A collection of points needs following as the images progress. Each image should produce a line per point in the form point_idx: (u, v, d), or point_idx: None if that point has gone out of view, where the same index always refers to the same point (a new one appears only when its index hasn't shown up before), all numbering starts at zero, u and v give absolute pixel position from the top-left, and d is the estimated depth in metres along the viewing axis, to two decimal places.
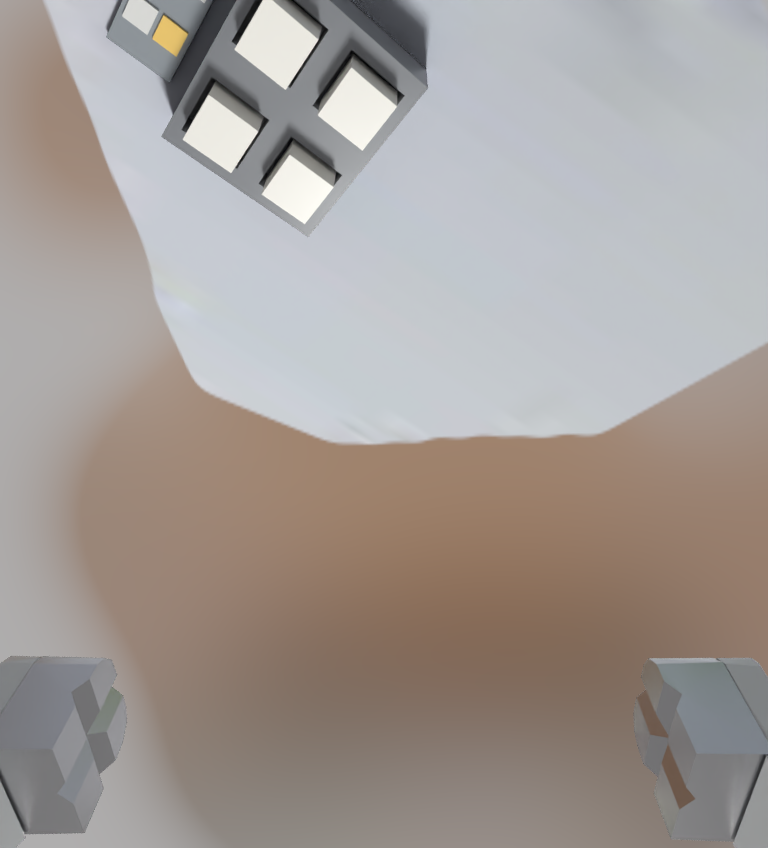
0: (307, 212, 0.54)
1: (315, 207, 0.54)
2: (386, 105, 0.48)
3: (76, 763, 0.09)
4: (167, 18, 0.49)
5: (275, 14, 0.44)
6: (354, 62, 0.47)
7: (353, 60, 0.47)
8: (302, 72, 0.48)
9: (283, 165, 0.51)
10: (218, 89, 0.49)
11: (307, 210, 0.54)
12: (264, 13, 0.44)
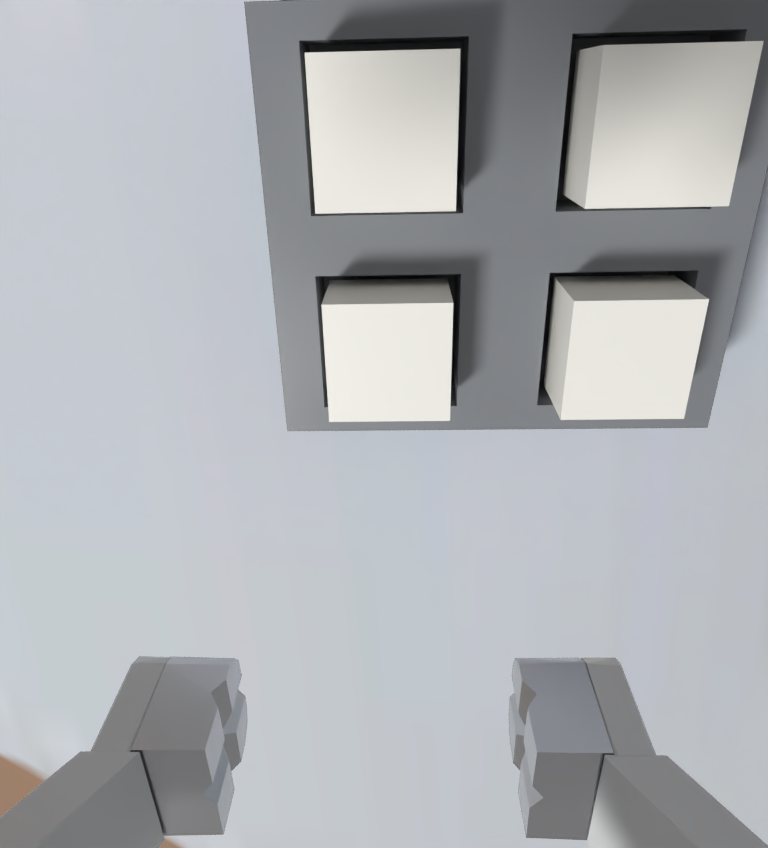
0: (358, 410, 0.23)
1: (381, 417, 0.23)
2: (673, 400, 0.22)
3: None
4: None
5: (732, 87, 0.18)
6: None
7: None
8: (601, 214, 0.21)
9: (420, 305, 0.21)
10: None
11: (363, 408, 0.23)
12: (722, 61, 0.18)
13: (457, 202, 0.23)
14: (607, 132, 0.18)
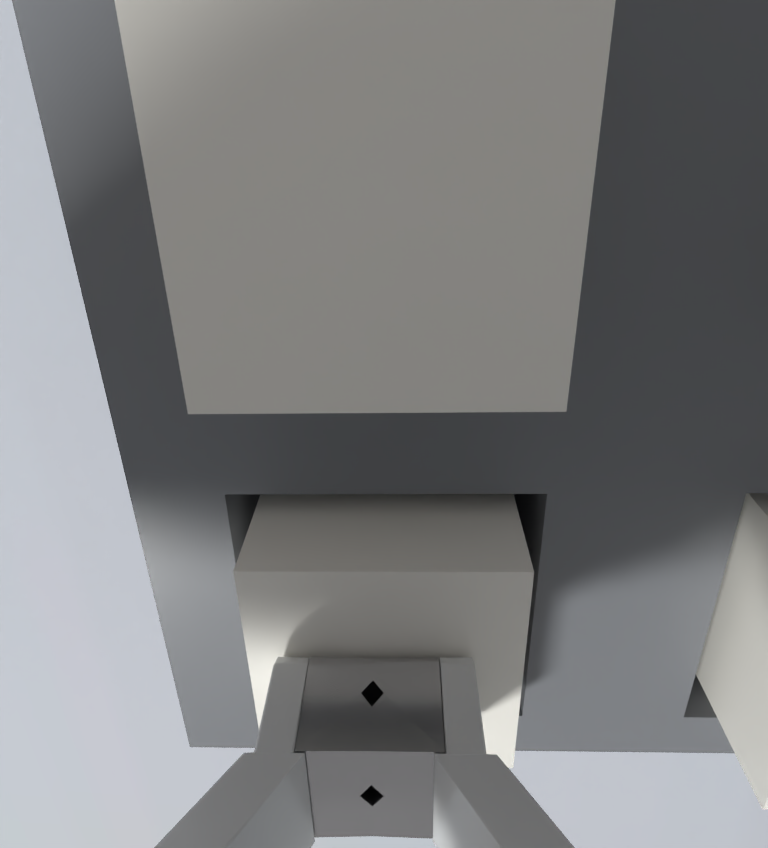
0: None
1: None
2: None
3: None
4: None
5: None
6: None
7: None
8: None
9: (458, 576, 0.09)
10: None
11: None
12: None
13: None
14: None
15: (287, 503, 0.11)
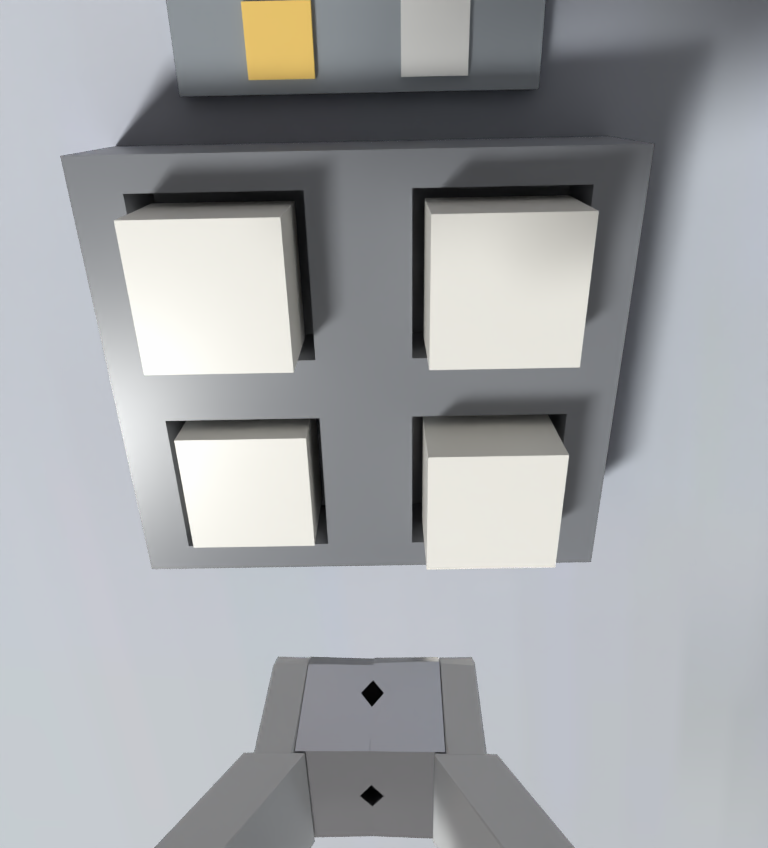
0: (222, 537, 0.23)
1: (245, 543, 0.23)
2: (543, 550, 0.21)
3: None
4: (311, 12, 0.19)
5: (571, 255, 0.17)
6: None
7: None
8: None
9: (273, 441, 0.21)
10: (290, 222, 0.18)
11: (226, 534, 0.22)
12: (558, 230, 0.17)
13: None
14: (444, 297, 0.17)
15: None
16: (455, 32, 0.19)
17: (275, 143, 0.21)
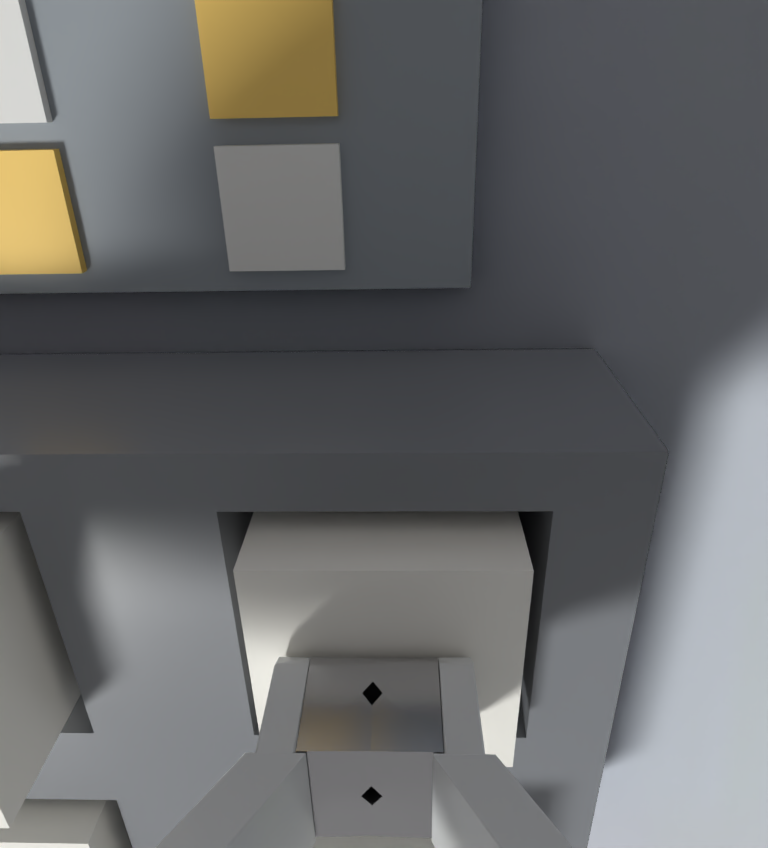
0: None
1: None
2: None
3: None
4: (59, 169, 0.11)
5: (488, 629, 0.10)
6: None
7: None
8: None
9: (37, 844, 0.13)
10: (2, 564, 0.10)
11: None
12: (462, 596, 0.09)
13: None
14: None
15: None
16: (316, 202, 0.11)
17: (44, 358, 0.13)
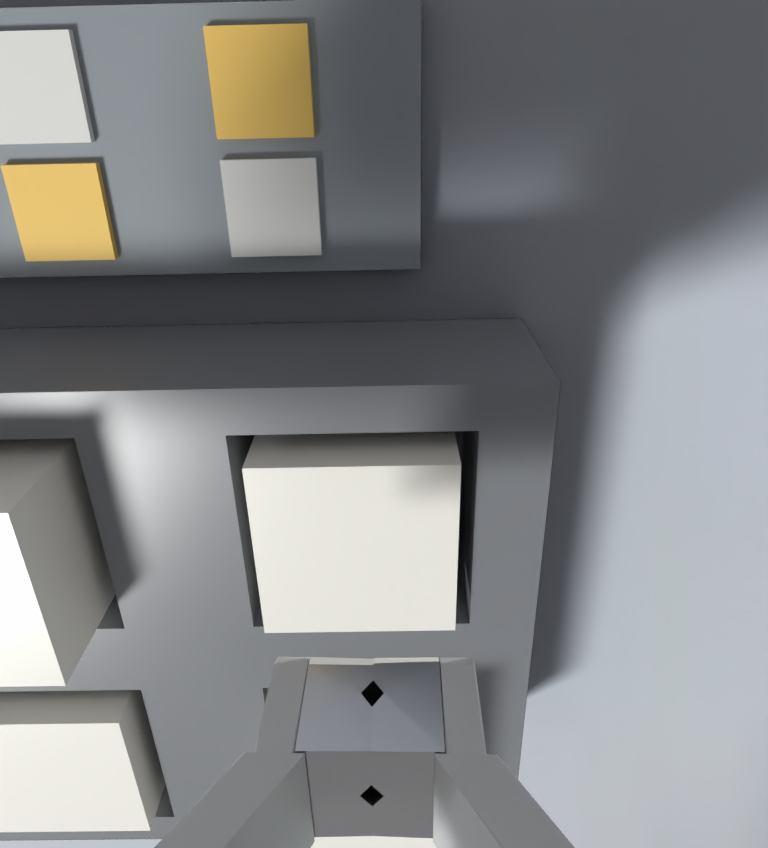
0: (29, 822, 0.17)
1: (61, 828, 0.18)
2: None
3: None
4: (99, 178, 0.14)
5: (430, 512, 0.13)
6: None
7: None
8: None
9: (76, 725, 0.16)
10: (59, 480, 0.13)
11: (34, 820, 0.17)
12: (410, 486, 0.13)
13: None
14: (273, 557, 0.13)
15: None
16: (299, 203, 0.14)
17: (80, 330, 0.16)
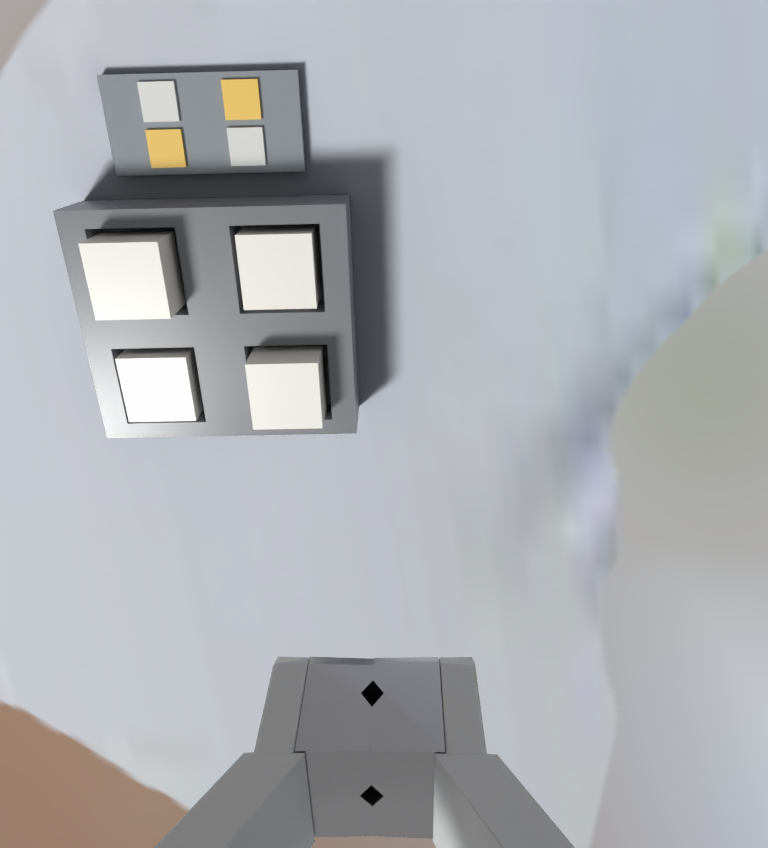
0: (144, 415, 0.41)
1: (157, 419, 0.41)
2: (314, 418, 0.39)
3: None
4: (181, 135, 0.37)
5: (302, 253, 0.36)
6: (320, 357, 0.39)
7: (320, 354, 0.39)
8: (265, 314, 0.38)
9: (168, 359, 0.39)
10: (168, 243, 0.36)
11: (146, 414, 0.41)
12: (294, 242, 0.36)
13: None
14: (246, 274, 0.37)
15: (133, 349, 0.40)
16: (256, 144, 0.37)
17: (169, 199, 0.39)
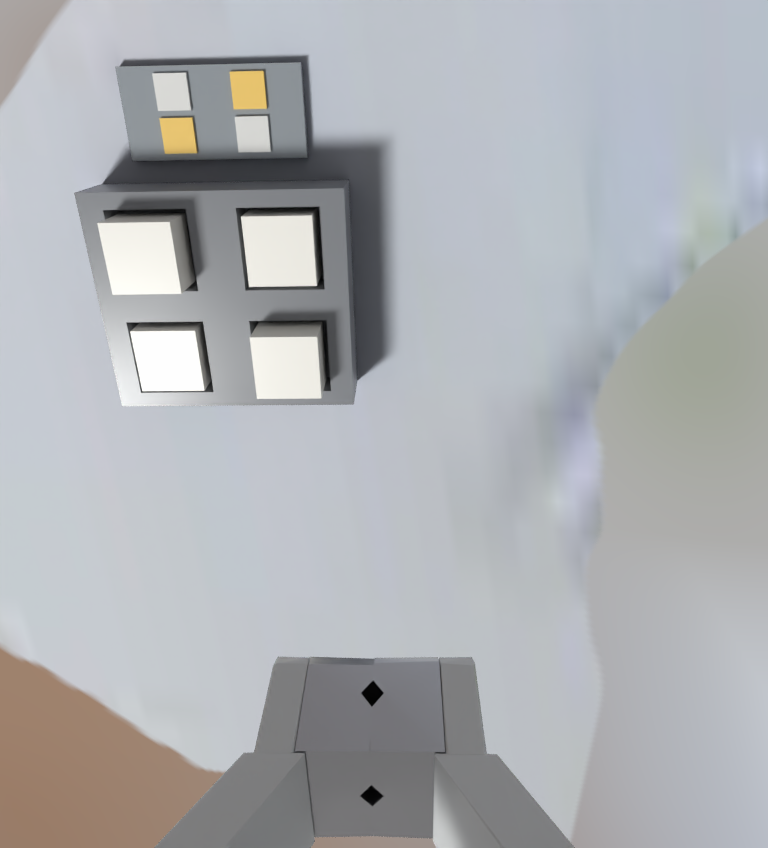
0: (156, 385, 0.44)
1: (169, 388, 0.44)
2: (313, 388, 0.42)
3: None
4: (192, 123, 0.40)
5: (303, 234, 0.39)
6: (319, 331, 0.42)
7: (320, 329, 0.42)
8: (269, 291, 0.41)
9: (179, 332, 0.42)
10: (180, 223, 0.39)
11: (158, 383, 0.44)
12: (296, 223, 0.39)
13: None
14: (251, 253, 0.39)
15: (146, 323, 0.43)
16: (262, 132, 0.40)
17: (181, 183, 0.42)
